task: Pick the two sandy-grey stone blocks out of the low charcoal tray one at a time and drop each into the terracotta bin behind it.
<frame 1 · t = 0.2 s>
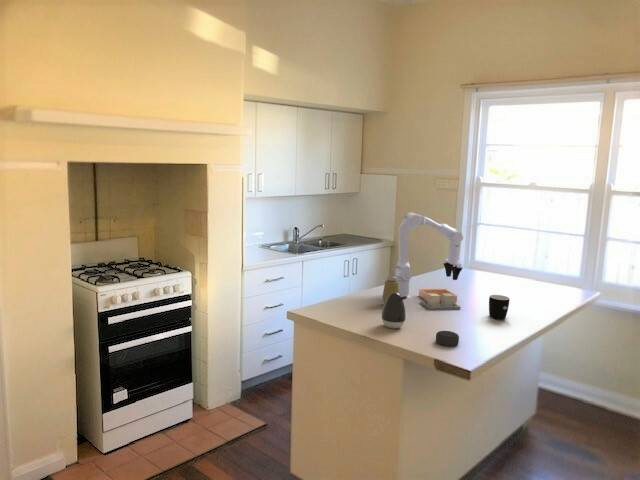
hand: (451, 278, 284), 10 cm above the countertop, tool pointing down, fingers open, 7 cm apart
pump dispenser: (393, 327, 230), on the countertop
stone right: (446, 306, 264), point 1 cm above the countertop, touching stone tray
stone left: (432, 306, 262), point 1 cm above the countertop, touching stone tray
mug: (498, 317, 252), on the countertop
squeeze bottle: (390, 305, 263), on the countertop
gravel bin: (437, 299, 278), on the countertop
stone tray: (439, 307, 263), on the countertop
smart speaker: (446, 343, 213), on the countertop
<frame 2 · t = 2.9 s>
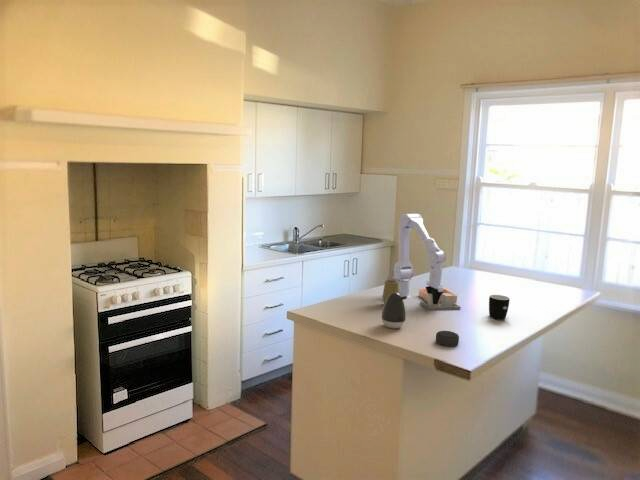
hand: (433, 302, 262), 3 cm above the countertop, tool pointing down, fingers closed on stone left, 4 cm apart
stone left: (432, 306, 262), point 1 cm above the countertop, touching gripper, stone tray
everything else where it was.
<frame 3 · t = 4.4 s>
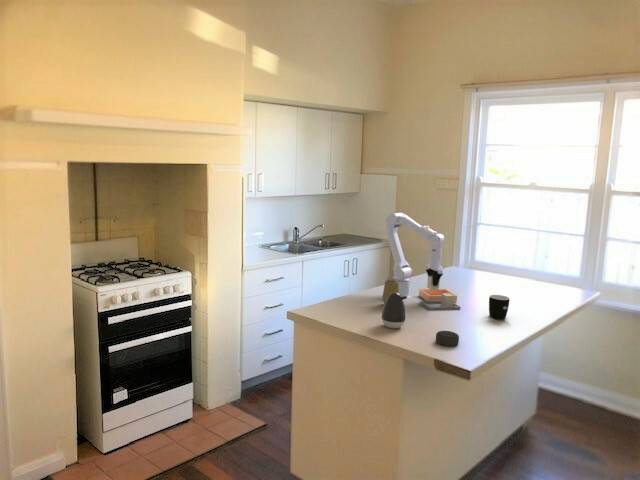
hand: (433, 284, 269), 10 cm above the countertop, tool pointing down, fingers closed on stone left, 4 cm apart
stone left: (432, 288, 269), point 8 cm above the countertop, touching gripper
everything else where it was.
when the fingers open (5 cm above the countertop, at t = 6.2 s): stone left drops 2 cm, resting on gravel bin.
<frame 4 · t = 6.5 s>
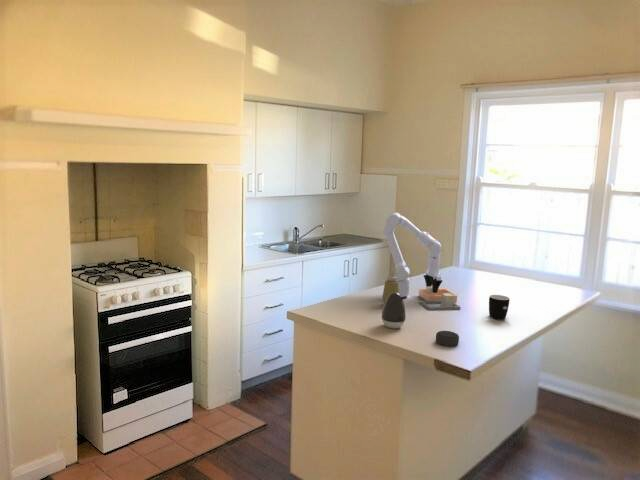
hand: (431, 290, 276), 5 cm above the countertop, tool pointing down, fingers open, 7 cm apart
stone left: (431, 298, 277), point 1 cm above the countertop, touching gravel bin
everything else where it was.
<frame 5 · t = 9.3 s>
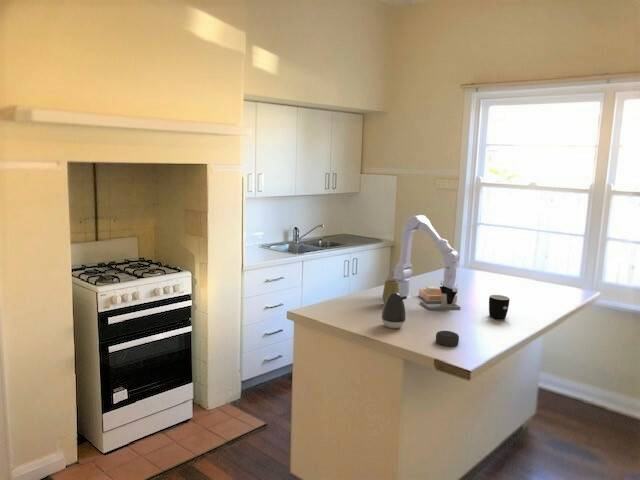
hand: (447, 302, 264), 3 cm above the countertop, tool pointing down, fingers closed on stone right, 4 cm apart
stone right: (446, 306, 264), point 1 cm above the countertop, touching gripper, stone tray
everything else where it was.
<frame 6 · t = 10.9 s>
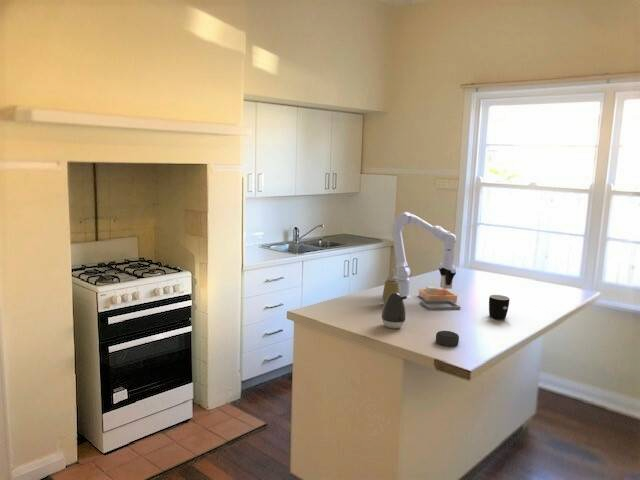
hand: (446, 283, 272), 10 cm above the countertop, tool pointing down, fingers closed on stone right, 4 cm apart
stone right: (445, 287, 273), point 8 cm above the countertop, touching gripper
everything else where it was.
when the fingers open (5 cm above the countertop, at t = 12.6 s): stone right drops 2 cm, resting on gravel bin.
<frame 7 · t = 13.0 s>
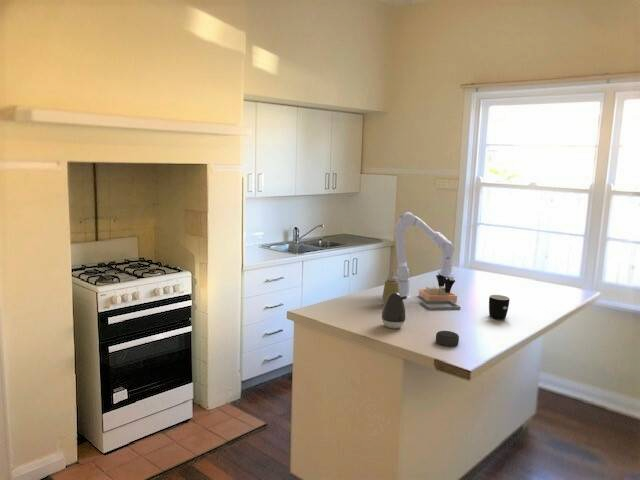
hand: (444, 290, 278), 5 cm above the countertop, tool pointing down, fingers open, 7 cm apart
stone right: (443, 298, 279), point 1 cm above the countertop, touching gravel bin
everything else where it was.
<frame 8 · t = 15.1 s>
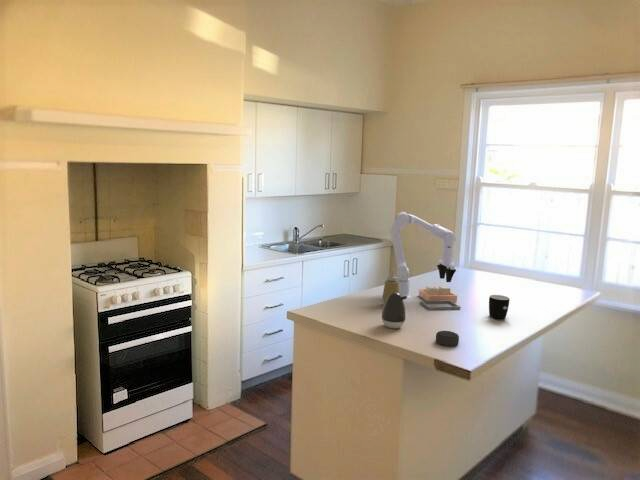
hand: (445, 280, 277), 10 cm above the countertop, tool pointing down, fingers open, 7 cm apart
nothing on the countertop moved.
at the end: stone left inside the target area on the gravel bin (3.4 cm from its centre), point 0.6 cm above the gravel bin's base; stone right inside the target area on the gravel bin (3.6 cm from its centre), point 0.6 cm above the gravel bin's base; stone right tilted 0° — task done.
